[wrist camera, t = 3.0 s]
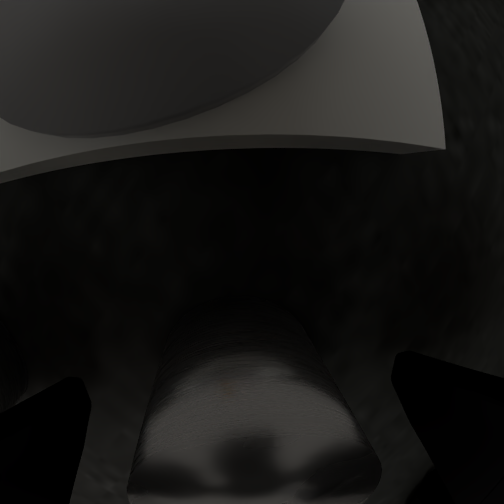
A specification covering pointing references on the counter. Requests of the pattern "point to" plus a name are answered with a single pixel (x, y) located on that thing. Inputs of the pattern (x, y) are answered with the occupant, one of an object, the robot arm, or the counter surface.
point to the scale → (211, 79)
